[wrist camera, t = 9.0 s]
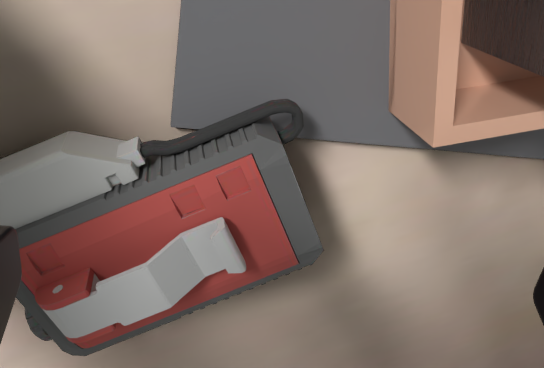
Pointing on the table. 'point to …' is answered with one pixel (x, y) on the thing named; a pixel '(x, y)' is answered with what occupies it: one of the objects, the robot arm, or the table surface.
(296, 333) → the table surface
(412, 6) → the open box
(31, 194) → the grey red device
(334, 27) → the mat
